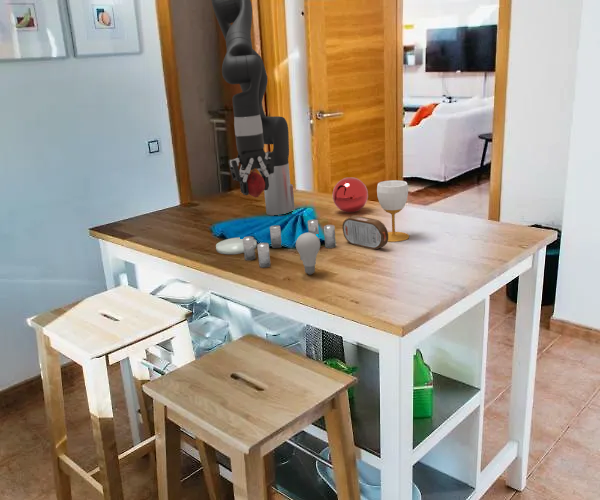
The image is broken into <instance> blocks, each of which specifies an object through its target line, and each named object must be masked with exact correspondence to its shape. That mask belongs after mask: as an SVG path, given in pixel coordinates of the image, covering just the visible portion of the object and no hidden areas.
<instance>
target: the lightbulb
mask: <svg viewBox="0 0 600 500" xmlns="http://www.w3.org/2000/svg"><path fill="white" fill-rule="evenodd" d="M320 241H321V240H320V237H319V238H318V237H317V236H316V235H315V234H313V233H309V232H304V233H302V234H300V235H299V236H298V237H297V239H296V241H295V248H296V251H297V252H298V254H299V255H301V257H302V260H301V261H302V264H303V266H304V273H305V274H308V275H309V276H310V275H313V274H314V273H316V260H317V256H318V254H319V251H320V249H321V242H320Z"/></svg>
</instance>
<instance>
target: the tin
mask: <svg viewBox="0 0 600 500" xmlns="http://www.w3.org/2000/svg"><path fill="white" fill-rule="evenodd" d="M388 232H389V231H388V229H387V227H386V226H385V224H384V223H383V222H382V221H381V220H379V219H377V218H372V217H366V216H361V215H356V214H353V215H351V216H349V217H348V218H346V219H345V220H343V222H342V234H343V237H344V238H345V240H346V241H347V242H348V243H349V244H351V245H354V246H357V247H362V248H365V249H371V250H378V249H380V248H382V247H385V246H386V245H387V244H388V243H389V242H388Z"/></svg>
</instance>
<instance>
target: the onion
mask: <svg viewBox="0 0 600 500" xmlns="http://www.w3.org/2000/svg"><path fill="white" fill-rule="evenodd" d="M246 182H247V183H248V192H249V195H250V196H252V197H253V198H259V196H260V195H261V194H262V193H264V189H265V181H264V179H263V177H262V176H261V174H260V173H258V172H257V169H253V170H251V171H250V173H249V175H248V177H247V181H246Z"/></svg>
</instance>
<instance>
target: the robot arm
mask: <svg viewBox="0 0 600 500" xmlns="http://www.w3.org/2000/svg"><path fill="white" fill-rule="evenodd" d="M211 5H212V9H213V12H214V15H215V18H216V20H217V23H218V25H219V27H220V31H221V33H222V35H223V37H224V38H223V39H224V40H225V46H226V52H225V56H224V58H223V61H222V66H221V75H222V78H223V79H224V81H225V82H226V83H228V84H229V85H239V86H240V89H241V92H239V93H236V94H234V95H233V96H232V99H231V100H232V107H233V116H234V117H233V119H234V122H233V125H234V126H233V127H234V135H235V136H234V137H235V144H236V151H237V153H238V154H237V157H236V158H233V159H228V166H229V170H230V173H231V178H232V180H233V181H236V182H238V183H239V187H240V193H241V194H242V195H243V196H244V195H245V196H248V195H250V194H249V192H248V183H247V182H246V181H247V177H248V175H249V174H251V171H252V170H253V169H254V170H256V171H258V172H259V174H260V175H261V176H262V177H263V179H264V181H265V189H264V191H263V193H264V200H265V201H264V203H265V210H266V211H265V212H266V213H265V214H266V215H268V216H274V215H278V214H284V213H288V212H290V211H292V210H294V209H295V199H294V197H295V196H294V185H293V184H291V176H290V164H289V156H290V144H289V143H290V142H289V141H290V139H289V134H290V132H289V125H288V122H287V120H286V118H285V117H283V116H279V115H278V116H267V115H266V114H265V111H264V107H263V101H264V95H265V92H266V89H267V86H268V74H267V70H266V67H265V65H264V61H263V58H262V57H261V56H260V54H259V53H258V52H257V51H256V50H255V49H254V48H253V42H252V35H251V34H252V23H253V5H252V0H211ZM265 145H273V146H272V147H273V149H272V151H265V149H264V148H265ZM239 165H240V168H239ZM278 216H279V215H278Z"/></svg>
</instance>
